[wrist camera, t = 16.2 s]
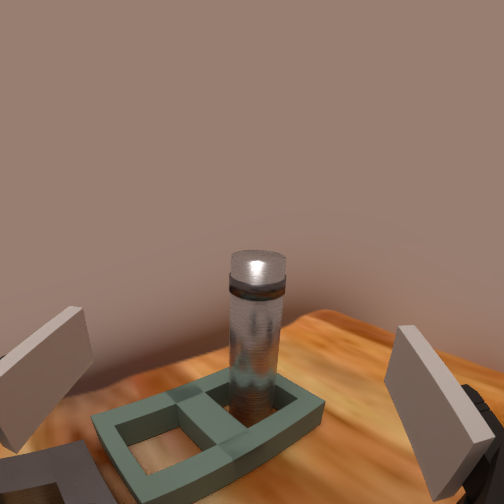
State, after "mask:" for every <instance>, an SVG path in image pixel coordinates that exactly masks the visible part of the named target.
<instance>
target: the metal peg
mask: <svg viewBox="0 0 504 504" xmlns="http://www.w3.org/2000/svg"><path fill="white" fill-rule="evenodd" d="M285 267H286V257H285V256H284V255H282V254H279V253H276V252H271V251H264V250H245V251H239V252H235V253H233V254H232V255H231V272H230V275H229V291H230V348H229V414H230V415H232V416H233V417H234V418H235V419H236V420H238V421H239V422H240V423H241V424H243V425H244V426H245V427H246V428H250V427H251V426H253V425H255V424H257V423H259V422H260V421H262V420H264V419H266V418H267V417H269V416H271V415H272V410H273V401H274V391H275V382H276V372H277V362H278V351H279V341H280V329H281V318H282V306H283V295H284V294H285V285H286V275H285Z"/></svg>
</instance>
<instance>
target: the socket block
mask: <svg viewBox="0 0 504 504" xmlns="http://www.w3.org/2000/svg"><path fill="white" fill-rule="evenodd" d="M0 504H118V503H117V502H116V500H115V498H114V497H113V495H112V493H111V492H110V490H109V488H108V487H107V485H106V483H105V481H104V479H103V478H102V476H101V474H100V472H99V470H98V468H97V466H96V464H95V462H94V460H93V459H92V457H91V455H90V452H89V450H88V448H87V446H86V444H85V442H84V440H79V441H76V442H72V443H68V444H65V445H61V446H57V447H53V448H49V449H45V450H41V451H36V452H32V453H27V454H22V455H18V456H13V457H7V458H2V459H0Z"/></svg>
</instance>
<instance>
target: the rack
mask: <svg viewBox="0 0 504 504" xmlns="http://www.w3.org/2000/svg"><path fill="white" fill-rule="evenodd" d="M325 402H326V401H325V400H323V399H321V398H319V397H317V396H316V395H314V394H312V393H310V392H309V391H307V390H305V389H303V388H302V387H300V386H298V385H297V384H295V383H293V382H292V381H290V380H288V379H286V378H285V377H283V376H281V375H280V374H278V373H277V372H276V382H275V391H274V401H273V407H274V408H276V409H277V410H278V411H277V412H276V413H274V414H272V415H271V416H269V417H267V418H266V419H264V420H262V421H260V422H259V423H257V424H255V425H253V426H251V427H250V428H246V427H245V426H244V425H243V424H241V423H240V422H239V421H238V420H236V419H235V418H234V417H233V416H232V415H230V414H229V413H228V412H227V411H226V410H224V409H223V408H222V407H224V406H226V405H228V404H229V367H228V368H225V369H223V370H220V371H218V372H216V373H213V374H211V375H208V376H205V377H203V378H200V379H198V380H195V381H193V382H190V383H187V384H185V385H182V386H179V387H177V388H174V389H171V390H168V391H166V392H163V393H160V394H157V395H154V396H151V397H149V398H146V399H143V400H140V401H137V402H134V403H131V404H128V405H124V406H121V407H118V408H115V409H112V410H108V411H105V412H102V413H98V414H95V415H92V416H91V419H92V422H93V425H94V428H95V430H96V433H97V436H98V438H99V440H100V442H101V444H102V446H103V448H104V450H105V451H106V453H107V455H108V457H109V459H110V460H111V462H112V464H113V465H114V467H115V469H116V470H117V472H118V474H119V475H120V477H121V479H122V480H123V482H124V483H125V485H126V487H127V488H128V490H129V491H130V493H131V494H132V496H133V497H134V499H135V500H136V502H137V503H138V504H192V503H194V502H196V501H198V500H200V499H202V498H204V497H206V496H208V495H210V494H211V493H213V492H215V491H217V490H219V489H221V488H223V487H224V486H226V485H228V484H230V483H232V482H233V481H235V480H237V479H239V478H240V477H242V476H244V475H245V474H247V473H249V472H250V471H252V470H254V469H255V468H257V467H258V466H260V465H262V464H263V463H265V462H266V461H268V460H269V459H271V458H273V457H274V456H276V455H277V454H279V453H280V452H282V451H283V450H285V449H286V448H287V447H289V446H290V445H292V444H293V443H295V442H296V441H297V440H299V439H300V438H302V437H303V436H304V435H306V434H307V433H309V432H310V431H311V430H313V429H314V428H315V427H317V426H318V425H319V424H320V423H321V419H322V415H323V410H324V406H325ZM177 427H180V428H181V429H182V430H183V431H184V432H185V433H186V434H187V435H188V436H189V437H190V438H191V440H192V441H193V442H194V443H195V444H196V445H197V446H198V447H199V448H200V449H201V450H202V451H203V452H201V453H199V454H197V455H195V456H193V457H191V458H188V459H186V460H184V461H182V462H180V463H177V464H175V465H173V466H170V467H168V468H166V469H163V470H161V471H158V472H156V473H154V474H151V475H149V476H147V475H146V474H145V472H144V471H143V469H142V468H141V466H140V465H139V464H138V462H137V461H136V459H135V458H134V456H133V455H132V453H131V452H130V450H129V449H128V447H127V446H129V445H132V444H135V443H138V442H141V441H143V440H146V439H149V438H151V437H154V436H157V435H159V434H162V433H164V432H167V431H169V430H172V429H174V428H177Z"/></svg>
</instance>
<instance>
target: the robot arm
mask: <svg viewBox="0 0 504 504" xmlns="http://www.w3.org/2000/svg"><path fill="white" fill-rule="evenodd" d="M93 362H94V358H93V353H92V349H91V345H90V340H89V335H88V331H87V326H86V321H85V316H84V311H83V308H79V307H73V306H69V307H68V308H66V309H65V310H64V311H63V312H61V313H60V314H58V315H57V316H56V317H54V318H53V319H52V320H50V321H49V322H48V323H47V324H45V325H44V326H43V327H41V328H40V329H39V330H37V331H36V332H35V333H34V334H32V335H31V336H30V337H28V338H27V339H26V340H25V341H23V342H22V343H21V344H19V345H18V346H17V347H16V348H15V349H13V350H12V351H11V352H10V353H8V354H6V355H4V356H2V357H1V358H0V442H1V444H2V446H3V447H5V448H7V449H9V450H11V451H12V452H14V453H16V454H17V453H18V452H19V451H20V449H21V448H22V447H23V446H24V444H25V443H26V442H27V441H28V439H29V438H30V437H31V436H32V434H33V433H34V432H35V431H36V429H37V428H38V427H39V426H40V424H41V423H42V422H43V421H44V420H45V418H46V417H47V416H48V415H49V413H50V412H51V411H52V410H53V409H54V407H55V406H56V405H57V404H58V403H59V402H60V400H61V399H62V398H63V397H64V396H65V394H66V393H67V392H68V391H69V390H70V388H71V387H72V386H73V385H74V384H75V383H76V381H77V380H78V379H79V378H80V377H81V376H82V375H83V373H84V372H85V371H86V370H87V369H88V367H89V366H90V365H91V364H92V363H93ZM384 382H385V384H386V387H387V389H388V391H389V393H390V396H391V398H392V400H393V403H394V405H395V407H396V409H397V412H398V414H399V416H400V419H401V421H402V424H403V426H404V428H405V431H406V433H407V436H408V438H409V441H410V443H411V445H412V448H413V450H414V453H415V455H416V458H417V461H418V463H419V466H420V468H421V471H422V474H423V476H424V479H425V481H426V484H427V487H428V490H429V492H430V495H431V498H432V501H433V502H435V501H438V500H442V499H445V498H449V497H452V496H454V495H455V494H456V492H457V491H458V490H459V489H460V487H461V486H462V485H463V487H464V490H465V492H466V493H465V494H464V495H463V496H462V498H461V499H460V500H459V501H458V502H457V503H456V504H504V428H503V426H502V425H501V423H500V422H499V421H498V419H497V418H496V416H495V415H494V414H493V412H492V411H490V408H489V407H488V405H487V404H486V403H484V400H483V398H482V397H481V396H480V394H479V393H478V392H477V391H476V390H474V389H473V388H471V387H470V386H469V385H467V384H465V385H460V384H459V383H458V382H457V380H456V379H455V377H454V376H453V375H452V373H451V372H450V371H449V369H448V368H447V367H446V365H445V364H444V363H443V361H442V360H441V359H440V357H439V356H438V355H437V353H436V352H435V351H434V350H433V348H432V347H431V346H430V344H429V343H428V342H427V341H426V340H425V338H424V337H423V335H422V334H421V333H420V332H419V330H418V329H417V328H416V327H415V325H408V326H398V328H397V332H396V337H395V341H394V345H393V349H392V353H391V357H390V361H389V365H388V369H387V372H386V376H385V379H384Z"/></svg>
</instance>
